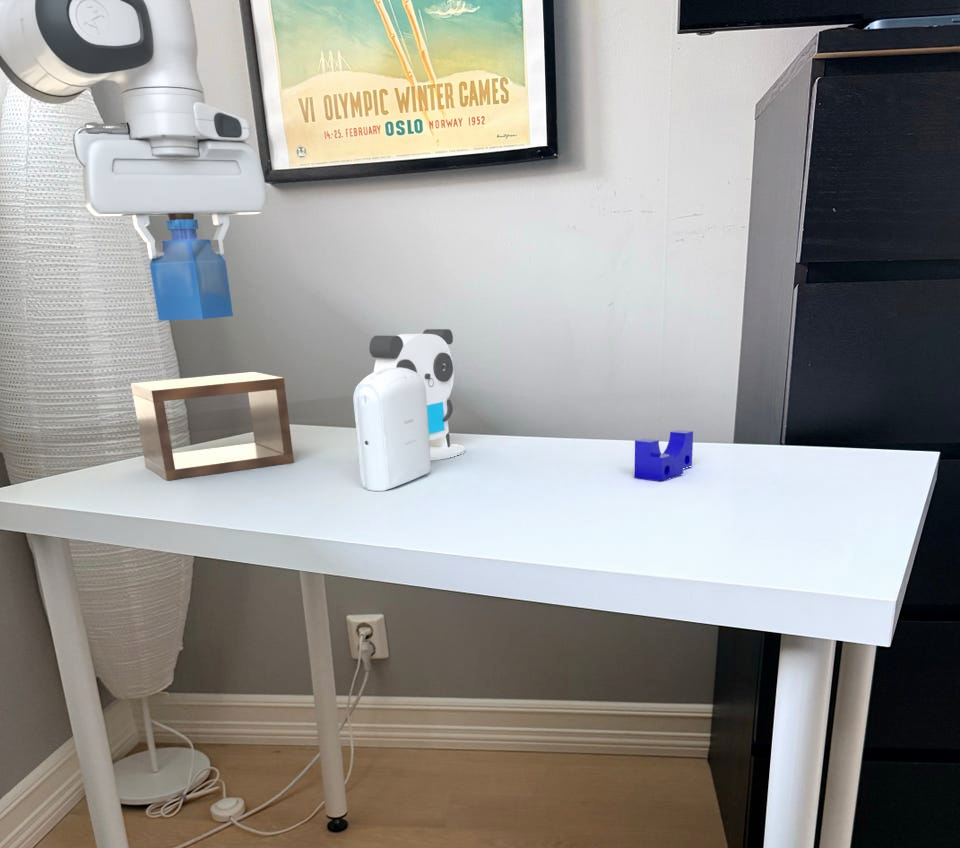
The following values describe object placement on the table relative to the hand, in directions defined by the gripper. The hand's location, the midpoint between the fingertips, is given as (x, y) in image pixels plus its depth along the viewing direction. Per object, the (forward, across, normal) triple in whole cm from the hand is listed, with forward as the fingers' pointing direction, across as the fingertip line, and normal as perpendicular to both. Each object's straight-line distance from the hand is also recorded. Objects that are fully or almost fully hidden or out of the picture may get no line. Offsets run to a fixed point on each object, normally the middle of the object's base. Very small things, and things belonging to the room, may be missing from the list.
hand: (187, 257), depth 109 cm
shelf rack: (+25, 0, +1) cm, 25 cm away
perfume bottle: (+7, 0, 0) cm, 7 cm away
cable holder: (+25, +38, -42) cm, 62 cm away
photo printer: (+25, +13, -25) cm, 38 cm away
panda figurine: (+25, +23, -11) cm, 36 cm away
